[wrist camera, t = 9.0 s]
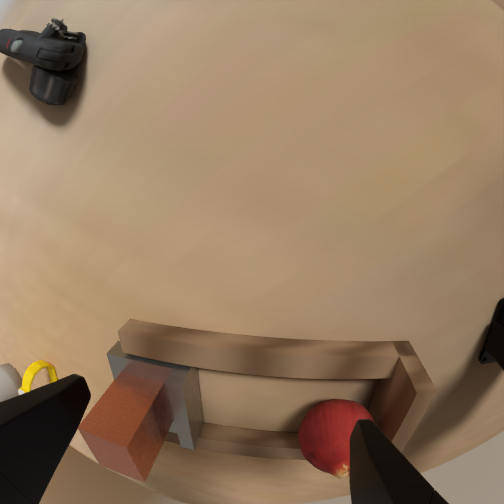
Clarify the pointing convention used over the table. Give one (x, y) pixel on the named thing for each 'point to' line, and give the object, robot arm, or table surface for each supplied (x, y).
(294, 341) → the bench
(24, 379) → the watch
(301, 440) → the onion
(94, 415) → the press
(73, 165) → the table surface
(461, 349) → the table surface
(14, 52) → the can opener
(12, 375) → the salt shaker
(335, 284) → the table surface
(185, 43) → the table surface
